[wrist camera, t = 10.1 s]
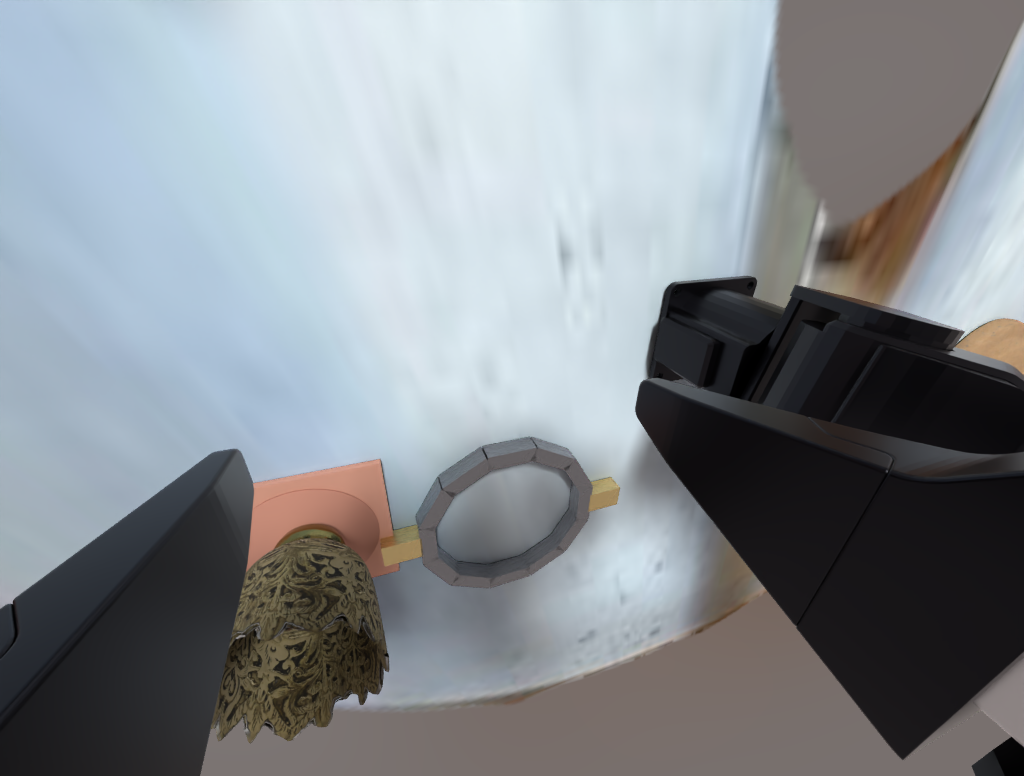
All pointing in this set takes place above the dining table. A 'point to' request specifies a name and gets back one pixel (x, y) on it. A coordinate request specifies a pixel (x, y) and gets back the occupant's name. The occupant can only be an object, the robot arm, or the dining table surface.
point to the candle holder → (998, 342)
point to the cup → (301, 637)
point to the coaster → (326, 510)
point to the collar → (469, 470)
